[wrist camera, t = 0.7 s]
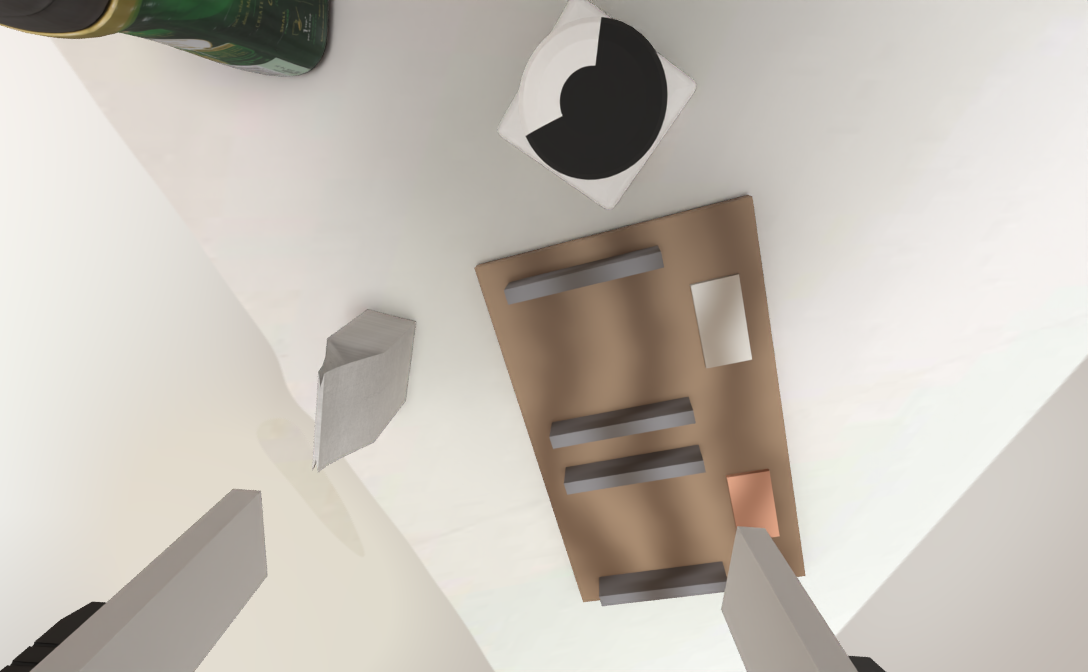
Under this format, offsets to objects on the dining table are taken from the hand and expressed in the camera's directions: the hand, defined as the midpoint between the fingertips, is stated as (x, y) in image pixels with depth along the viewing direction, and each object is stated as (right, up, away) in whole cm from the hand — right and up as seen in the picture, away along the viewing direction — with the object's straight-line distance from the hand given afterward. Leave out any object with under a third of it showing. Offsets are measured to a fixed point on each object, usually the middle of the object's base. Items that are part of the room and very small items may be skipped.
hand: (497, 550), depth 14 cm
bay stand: (+9, -1, +24) cm, 26 cm away
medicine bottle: (+4, +19, +17) cm, 26 cm away
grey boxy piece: (-11, +4, +25) cm, 27 cm away
